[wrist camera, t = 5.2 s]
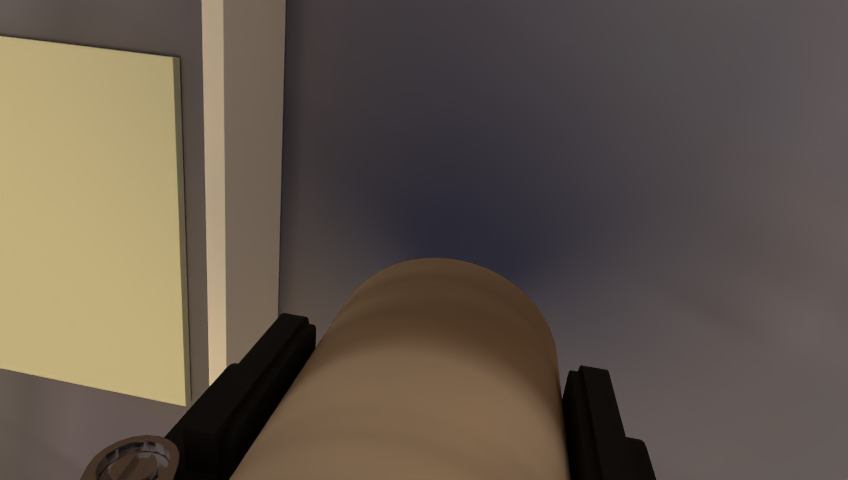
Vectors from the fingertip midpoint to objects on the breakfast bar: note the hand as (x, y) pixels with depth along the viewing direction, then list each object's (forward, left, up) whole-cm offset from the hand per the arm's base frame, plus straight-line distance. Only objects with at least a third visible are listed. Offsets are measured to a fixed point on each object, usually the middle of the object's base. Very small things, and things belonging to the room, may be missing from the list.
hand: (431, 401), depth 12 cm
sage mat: (+1, -18, -8) cm, 20 cm away
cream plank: (+1, -7, -8) cm, 11 cm away
